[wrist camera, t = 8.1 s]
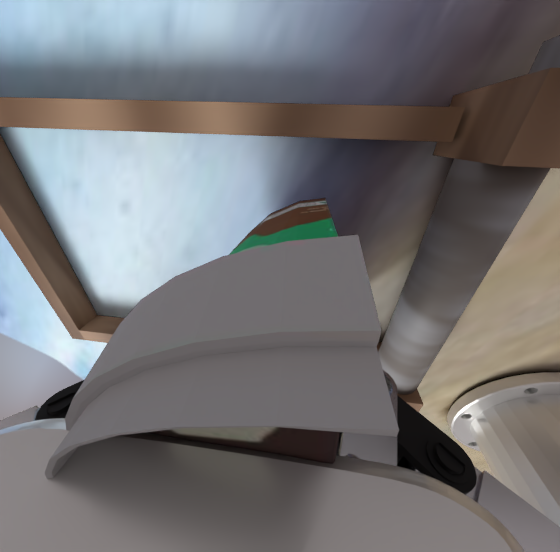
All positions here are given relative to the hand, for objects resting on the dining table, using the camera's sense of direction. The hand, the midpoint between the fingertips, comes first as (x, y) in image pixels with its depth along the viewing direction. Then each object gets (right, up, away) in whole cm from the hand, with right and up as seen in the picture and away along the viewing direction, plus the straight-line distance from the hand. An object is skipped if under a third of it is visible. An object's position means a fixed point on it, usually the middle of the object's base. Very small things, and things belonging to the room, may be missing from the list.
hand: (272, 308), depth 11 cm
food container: (0, +1, +2) cm, 3 cm away
